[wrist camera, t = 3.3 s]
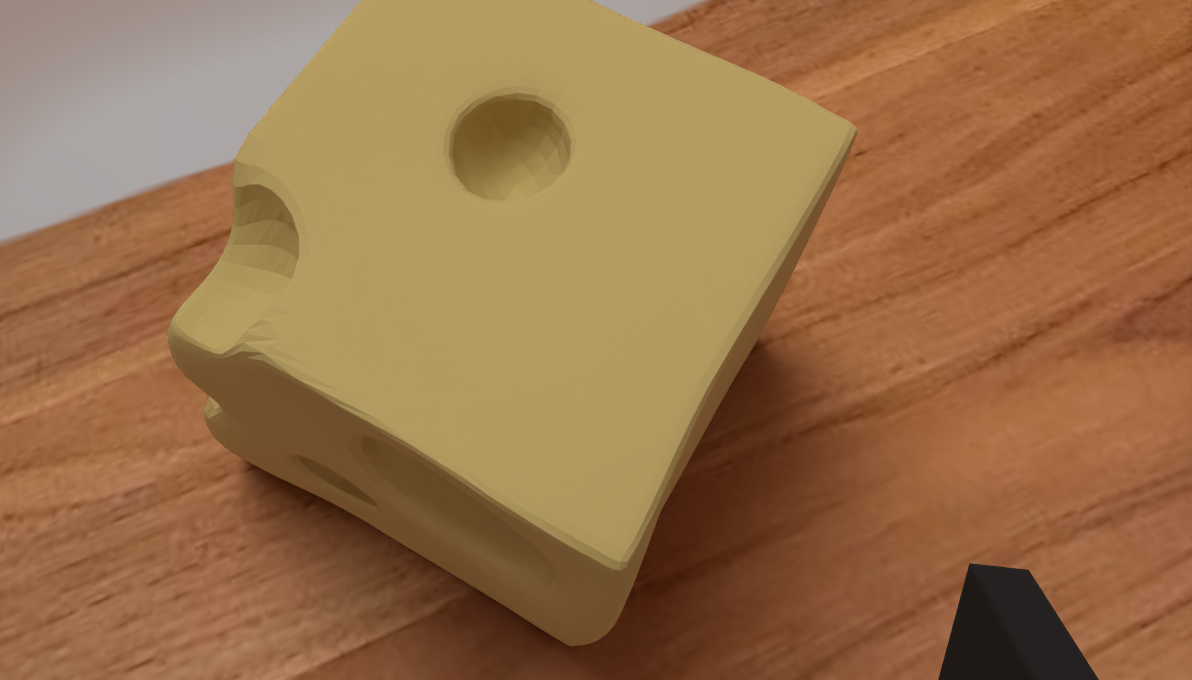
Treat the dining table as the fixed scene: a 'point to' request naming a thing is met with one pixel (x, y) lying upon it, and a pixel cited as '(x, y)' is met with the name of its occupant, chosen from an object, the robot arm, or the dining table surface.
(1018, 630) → the robot arm
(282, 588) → the dining table surface
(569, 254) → the cheese
